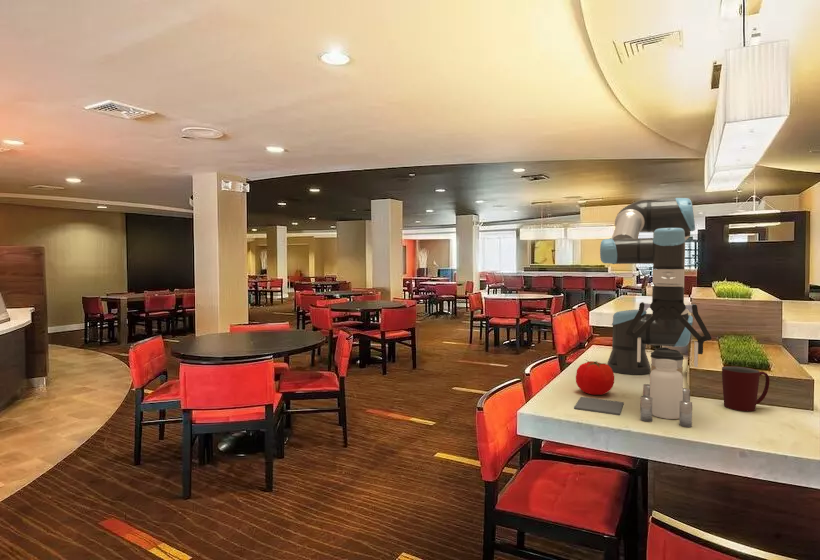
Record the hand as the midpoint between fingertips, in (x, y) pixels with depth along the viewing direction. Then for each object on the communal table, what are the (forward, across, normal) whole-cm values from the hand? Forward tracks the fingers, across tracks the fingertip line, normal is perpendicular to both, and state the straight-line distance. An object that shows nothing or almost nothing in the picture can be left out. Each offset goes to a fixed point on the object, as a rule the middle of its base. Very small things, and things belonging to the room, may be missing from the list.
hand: (666, 363), depth 130 cm
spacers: (+14, 0, 0) cm, 14 cm away
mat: (+14, -17, 0) cm, 22 cm away
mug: (+14, +20, +18) cm, 31 cm away
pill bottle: (+14, 0, 0) cm, 14 cm away
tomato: (+14, -20, +14) cm, 28 cm away
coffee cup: (+14, 0, +19) cm, 24 cm away
